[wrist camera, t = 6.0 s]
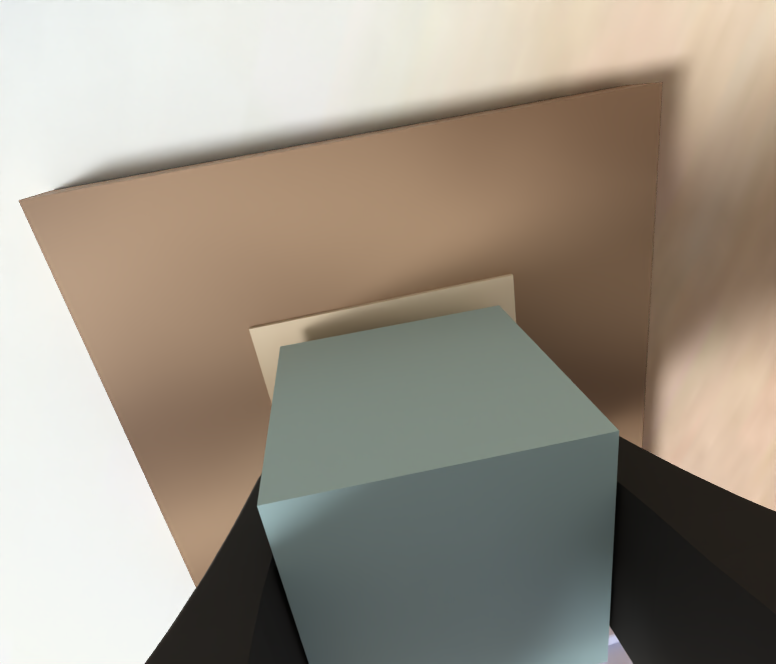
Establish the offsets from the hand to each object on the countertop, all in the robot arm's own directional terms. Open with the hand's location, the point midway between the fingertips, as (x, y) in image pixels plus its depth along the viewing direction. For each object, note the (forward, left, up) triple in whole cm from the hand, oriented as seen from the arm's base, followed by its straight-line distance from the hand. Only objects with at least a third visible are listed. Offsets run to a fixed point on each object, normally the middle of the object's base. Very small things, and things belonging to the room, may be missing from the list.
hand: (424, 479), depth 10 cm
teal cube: (0, 0, -2) cm, 2 cm away
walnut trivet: (0, 0, -4) cm, 4 cm away
